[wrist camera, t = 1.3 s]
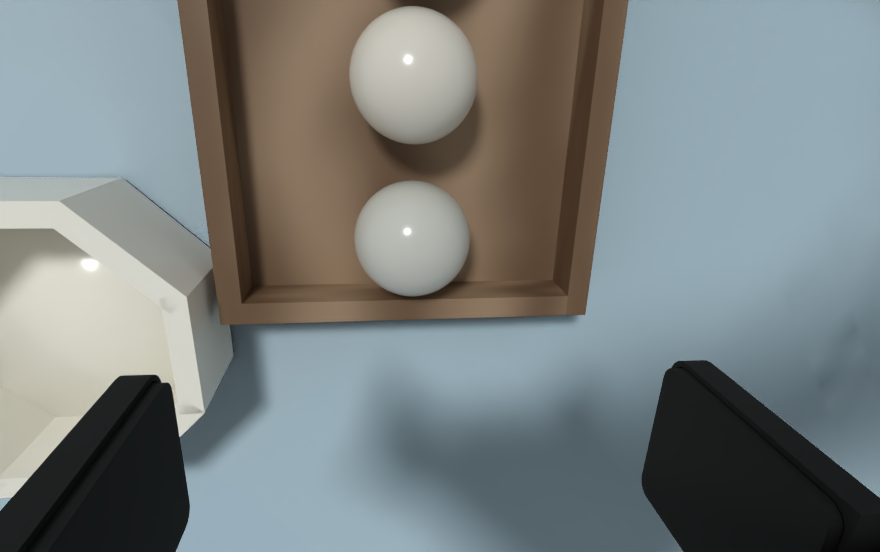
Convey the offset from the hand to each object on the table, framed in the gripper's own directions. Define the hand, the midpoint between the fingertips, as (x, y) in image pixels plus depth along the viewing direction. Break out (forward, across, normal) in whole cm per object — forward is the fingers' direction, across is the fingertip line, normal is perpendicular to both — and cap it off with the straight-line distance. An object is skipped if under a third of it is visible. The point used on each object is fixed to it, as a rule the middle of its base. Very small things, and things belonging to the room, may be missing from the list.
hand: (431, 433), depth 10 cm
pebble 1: (+16, -1, -7) cm, 17 cm away
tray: (+17, -1, -7) cm, 18 cm away
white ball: (+16, -1, 0) cm, 16 cm away
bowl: (+17, +15, +5) cm, 23 cm away
